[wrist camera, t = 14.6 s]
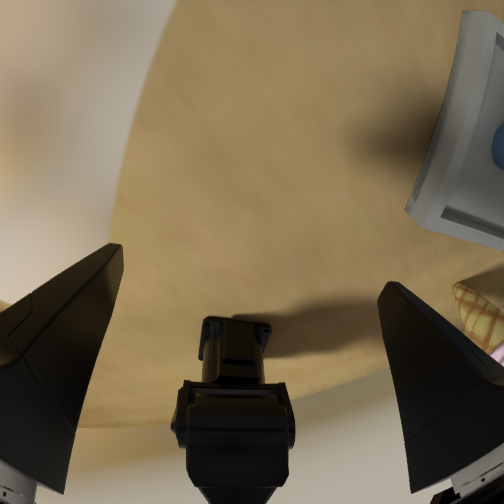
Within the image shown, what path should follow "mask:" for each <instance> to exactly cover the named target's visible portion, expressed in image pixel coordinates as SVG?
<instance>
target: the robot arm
mask: <svg viewBox="0 0 504 504" xmlns="http://www.w3.org/2000/svg"><path fill="white" fill-rule="evenodd" d="M123 270H124V262H123V247H122V245H121V244H115V243H109V244H107V245H105V246H103V247H102V248H100V249H98V250H97V251H95V252H93V253H92V254H90V255H88V256H87V257H85V258H84V259H82V260H80V261H79V262H77V263H75V264H74V265H72V266H71V267H69V268H68V269H66V270H64V271H63V272H61V273H60V274H58V275H57V276H55V277H53V278H52V279H50V280H49V281H47V282H46V283H44V284H43V285H41V286H40V287H38V288H37V289H35V290H34V291H33V292H32V293H29V294H28V295H27V296H25V297H24V298H22V299H21V300H19V301H18V302H16V303H15V304H13V305H12V306H10V307H9V308H7V309H5V310H4V311H2V312H0V504H36V503H35V497H36V491H37V485H39V486H42V487H44V488H47V489H49V490H52V491H54V492H57V493H60V494H62V495H63V494H64V490H65V483H66V478H67V472H68V467H69V461H70V457H71V452H72V447H73V443H74V438H75V432H76V430H77V426H78V422H79V418H80V414H81V410H82V406H83V403H84V399H85V395H86V392H87V388H88V385H89V382H90V378H91V375H92V372H93V369H94V366H95V362H96V359H97V356H98V353H99V350H100V347H101V344H102V341H103V339H104V336H105V333H106V330H107V327H108V325H109V322H110V319H111V316H112V313H113V309H114V305H115V301H116V297H117V294H118V290H119V286H120V282H121V279H122V275H123ZM377 305H378V311H379V316H380V322H381V328H382V335H383V340H384V344H385V348H386V352H387V357H388V361H389V365H390V369H391V374H392V378H393V383H394V387H395V392H396V397H397V402H398V407H399V413H400V418H401V424H402V430H403V436H404V441H405V450H406V457H407V464H408V473H409V482H410V490H411V494H413V493H415V492H418V491H421V490H423V489H426V488H428V487H431V486H433V485H436V484H438V483H440V482H442V481H445V480H447V479H449V478H451V482H452V485H453V487H451V488H449V489H446V490H444V491H442V492H440V493H438V494H436V495H434V496H433V498H432V500H431V502H430V504H504V366H502V365H501V364H500V363H499V362H497V361H496V360H495V359H494V358H492V357H491V356H490V355H489V354H487V353H486V352H485V351H484V350H482V349H481V348H480V347H479V346H477V345H476V344H475V343H474V342H473V341H471V340H470V339H469V338H468V337H467V336H465V335H464V334H463V333H462V332H461V331H460V330H458V329H457V328H456V327H455V326H453V325H452V324H451V323H450V322H449V321H447V320H446V319H445V318H444V317H443V316H441V315H440V314H439V313H438V312H436V311H435V310H434V309H433V308H431V307H430V306H429V305H428V304H426V303H425V302H424V301H422V300H421V299H420V298H419V297H417V296H416V295H415V294H414V293H412V292H411V291H410V290H408V289H407V288H406V287H404V286H403V285H402V284H400V283H399V282H394V281H389V282H387V283H386V285H385V287H384V289H383V290H382V292H381V294H380V296H379V298H378V301H377ZM271 331H272V329H271V325H269V324H260V323H250V322H240V321H231V320H222V319H214V318H205V319H203V323H202V331H201V339H200V347H199V355H198V359H199V360H201V361H203V368H202V382H192V381H190V380H184V384H183V387H181V389H179V390H178V397H177V405H176V409H175V412H174V415H173V418H172V422H171V430H172V431H173V432H174V433H175V434H176V437H177V440H178V445H179V448H183V449H186V469H187V472H188V476H189V478H190V479H191V481H192V483H193V484H194V486H195V487H198V488H199V490H200V491H201V493H202V494H203V495H204V497H205V498H206V500H207V501H208V503H209V504H266V503H267V501H268V500H269V498H270V497H271V496H272V494H273V493H274V491H275V490H276V488H277V487H282V486H283V485H284V483H285V481H286V479H287V477H288V475H289V468H288V451H289V449H292V448H293V446H294V442H295V419H294V414H293V410H292V406H291V403H290V399H289V396H288V392H287V389H286V385H285V382H279V383H277V384H265V376H264V365H263V352H264V349H265V347H266V344H267V342H268V339H269V336H270V334H271Z"/></svg>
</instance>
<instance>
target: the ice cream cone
mask: <svg viewBox="0 0 504 504" xmlns="http://www.w3.org/2000/svg"><path fill="white" fill-rule="evenodd" d="M452 290H453V293H454V296H455V300H456V303H457V306H458V310H459V313H460V317H461V321H462V324H463V327H464V331H465V335H466V336H467V337H468V338H469V339H470V340H471V341H473V342H474V343H475V344H476V345H477V346H479V347H480V348H481V349H482V350H484V351H485V352H486V353H487V354H489V355H490V356H491V357H492V358H494V359H495V360H496V361H497V362H499V363H500V364H501V365H502V366H504V313H503V312H502V311H500V310H499V309H498V308H497V307H496V306H494V305H493V304H492V303H490V302H489V301H488V300H486V299H485V298H484V297H482V296H481V295H479V294H478V293H476V292H475V291H473V290H472V289H470V288H469V287H467V286H466V285H464V284H463V283H461V282H458V283H456V284H455V285H454V286H453V289H452Z"/></svg>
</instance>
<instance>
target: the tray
mask: <svg viewBox="0 0 504 504" xmlns="http://www.w3.org/2000/svg"><path fill="white" fill-rule="evenodd" d="M503 123H504V24H503V23H502V22H500V21H499V20H498V19H497V18H496V17H495V16H494V15H493V14H491V13H490V12H489V11H488V10H481V11H463V13H462V20H461V26H460V32H459V37H458V42H457V47H456V52H455V57H454V61H453V66H452V70H451V74H450V78H449V82H448V86H447V90H446V94H445V97H444V101H443V104H442V108H441V111H440V114H439V118H438V121H437V124H436V127H435V130H434V133H433V136H432V139H431V142H430V145H429V148H428V151H427V154H426V157H425V159H424V162H423V165H422V168H421V170H420V173H419V175H418V178H417V181H416V183H415V186H414V188H413V191H412V193H411V196H410V198H409V200H408V203H407V205H406V208H405V210H406V211H407V213H408V214H409V215H410V216H411V217H412V218H413V219H414V220H415V221H416V222H417V223H418V224H419V225H420V226H421V227H422V229H426V230H430V231H434V232H438V233H442V234H445V235H449V236H453V237H456V238H460V239H463V240H467V241H470V242H474V243H477V244H481V245H484V246H487V247H491V248H494V249H497V250H500V251H503V252H504V171H503V170H502V169H500V168H499V167H497V166H496V164H495V163H494V160H493V157H492V142H493V138H494V135H495V132H496V130H497V129H498V128H499V126H500V125H502V124H503Z"/></svg>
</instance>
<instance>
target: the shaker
mask: <svg viewBox="0 0 504 504" xmlns="http://www.w3.org/2000/svg"><path fill="white" fill-rule="evenodd" d="M492 157H493V160H494V163H495V164H496V166H497V167H499V168H500V169H502V170H503V171H504V123H503V124H502V125H500V126H499V128H498V129H497V130H496V132H495V135H494V138H493V142H492Z"/></svg>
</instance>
